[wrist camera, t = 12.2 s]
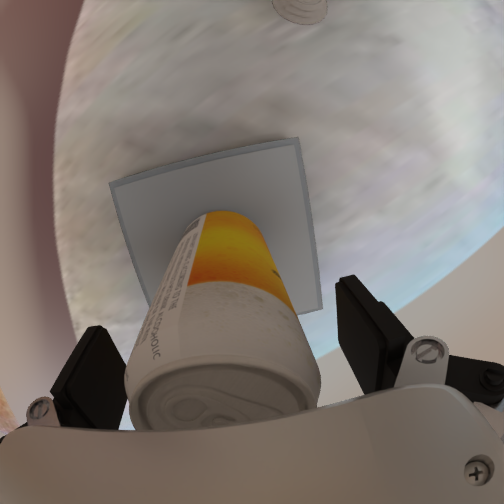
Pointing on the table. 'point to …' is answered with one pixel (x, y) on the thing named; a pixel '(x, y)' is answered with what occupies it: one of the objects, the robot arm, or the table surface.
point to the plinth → (224, 199)
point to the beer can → (220, 336)
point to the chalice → (301, 10)
